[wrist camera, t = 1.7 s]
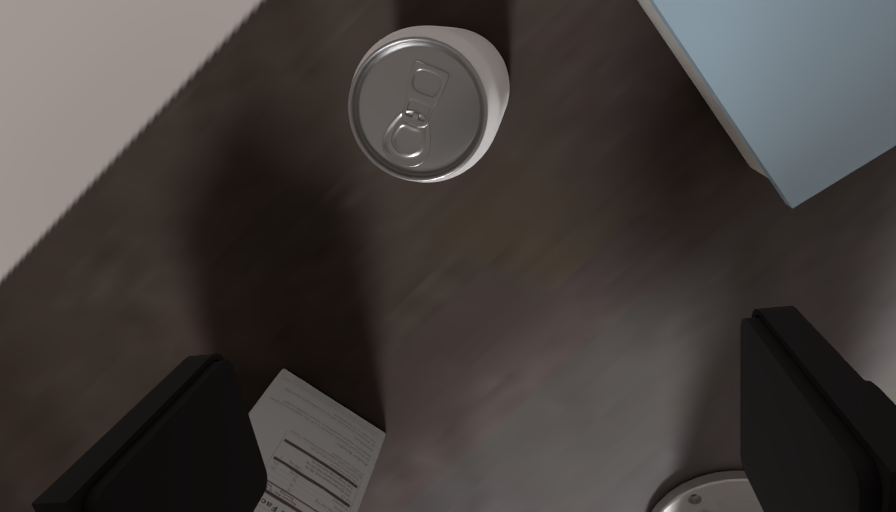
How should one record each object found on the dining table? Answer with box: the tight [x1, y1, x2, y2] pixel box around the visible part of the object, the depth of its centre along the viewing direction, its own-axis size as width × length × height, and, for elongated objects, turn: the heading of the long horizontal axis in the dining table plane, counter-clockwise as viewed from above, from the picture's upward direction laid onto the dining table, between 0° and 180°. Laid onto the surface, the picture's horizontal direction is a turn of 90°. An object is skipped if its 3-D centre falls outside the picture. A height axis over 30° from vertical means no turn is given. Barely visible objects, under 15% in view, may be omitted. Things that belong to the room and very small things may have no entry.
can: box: [348, 26, 509, 182], centre depth 29 cm, size 6×6×12 cm
